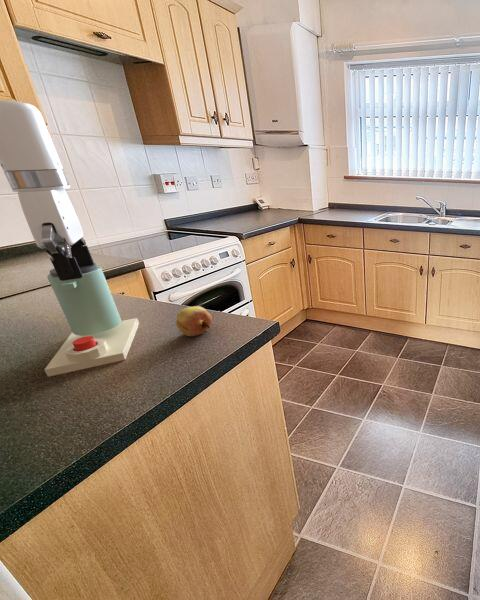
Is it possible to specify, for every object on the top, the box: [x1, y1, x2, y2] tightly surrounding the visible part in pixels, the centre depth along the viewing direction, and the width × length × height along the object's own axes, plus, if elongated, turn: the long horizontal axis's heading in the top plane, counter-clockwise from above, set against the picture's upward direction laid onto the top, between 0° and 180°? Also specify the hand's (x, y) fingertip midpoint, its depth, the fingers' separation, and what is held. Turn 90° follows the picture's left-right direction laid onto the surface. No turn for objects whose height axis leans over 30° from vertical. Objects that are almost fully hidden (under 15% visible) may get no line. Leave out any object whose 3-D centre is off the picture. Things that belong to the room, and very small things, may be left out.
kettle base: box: [44, 317, 140, 378], centre depth 73 cm, size 18×12×4 cm, turn 28°
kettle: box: [46, 262, 122, 336], centre depth 72 cm, size 12×8×14 cm
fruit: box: [175, 305, 213, 337], centre depth 78 cm, size 7×7×10 cm
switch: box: [72, 336, 97, 351], centre depth 67 cm, size 3×3×2 cm
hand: (78, 271), depth 67 cm, fingers open, 9 cm apart
